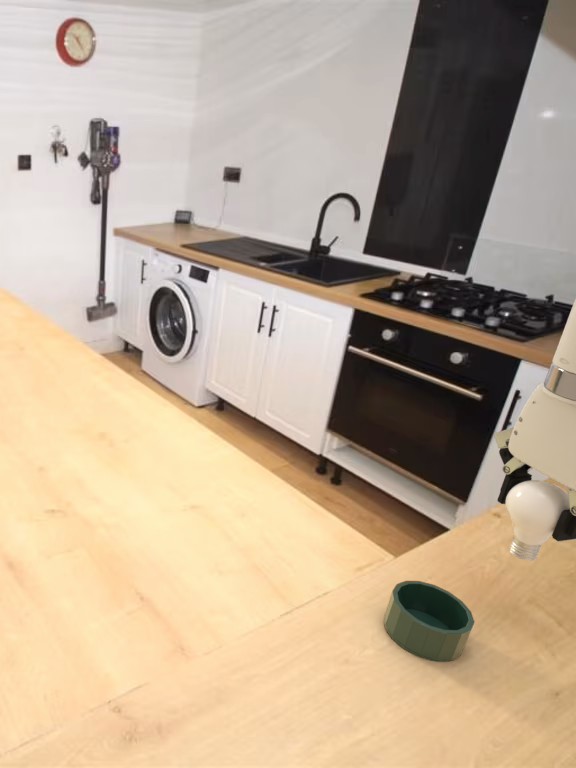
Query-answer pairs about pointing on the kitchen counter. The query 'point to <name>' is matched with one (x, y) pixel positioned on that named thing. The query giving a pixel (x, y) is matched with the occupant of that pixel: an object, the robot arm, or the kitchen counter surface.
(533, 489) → the lightbulb
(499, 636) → the kitchen counter surface
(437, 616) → the bowl
